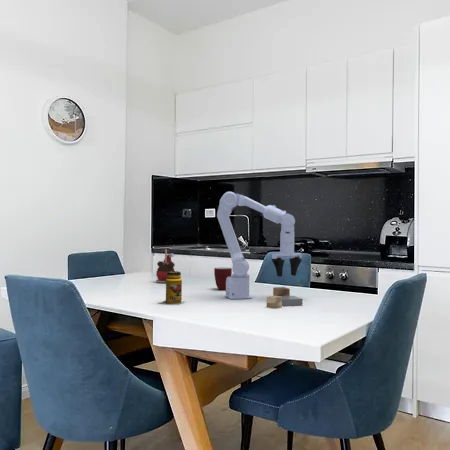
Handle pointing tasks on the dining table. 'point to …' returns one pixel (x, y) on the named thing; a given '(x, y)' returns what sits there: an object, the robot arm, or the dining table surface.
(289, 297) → the slate base
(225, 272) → the mug
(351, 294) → the dining table surface
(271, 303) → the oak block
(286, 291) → the walnut cube
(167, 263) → the cake
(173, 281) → the condiment
